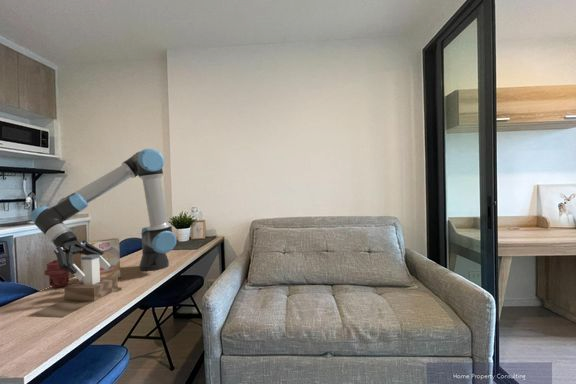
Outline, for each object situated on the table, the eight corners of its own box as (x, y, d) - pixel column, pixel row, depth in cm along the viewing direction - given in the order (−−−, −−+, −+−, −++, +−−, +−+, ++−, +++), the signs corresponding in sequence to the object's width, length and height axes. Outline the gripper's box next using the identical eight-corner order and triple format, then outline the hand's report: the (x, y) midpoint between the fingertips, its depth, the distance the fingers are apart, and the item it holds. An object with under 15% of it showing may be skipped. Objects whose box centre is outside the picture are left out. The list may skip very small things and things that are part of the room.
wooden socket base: (92, 289, 130) (92, 275, 129) (121, 289, 128) (121, 276, 128) (26, 319, 101) (25, 302, 101) (62, 320, 99) (61, 303, 99)
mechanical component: (78, 283, 139) (57, 290, 129) (61, 282, 141) (39, 289, 131) (77, 257, 138) (56, 263, 128) (59, 257, 140) (38, 262, 130)
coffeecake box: (89, 285, 135) (87, 243, 134) (81, 283, 138) (79, 242, 138) (121, 276, 148) (119, 238, 147) (113, 274, 151) (111, 237, 151)
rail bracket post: (91, 291, 123) (90, 254, 123) (101, 292, 123) (100, 254, 122) (83, 296, 119) (81, 257, 118) (93, 296, 118) (91, 257, 118)
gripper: (81, 237, 134) (112, 270, 133) (26, 250, 110) (63, 290, 108) (91, 226, 134) (122, 258, 132) (38, 235, 109) (76, 276, 107)
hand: (96, 272), depth 120 cm, fingers open, 13 cm apart
